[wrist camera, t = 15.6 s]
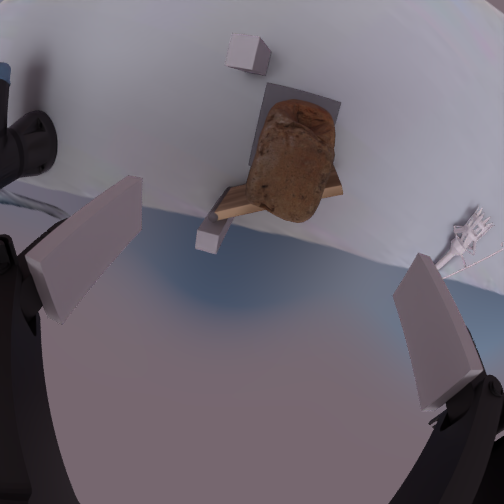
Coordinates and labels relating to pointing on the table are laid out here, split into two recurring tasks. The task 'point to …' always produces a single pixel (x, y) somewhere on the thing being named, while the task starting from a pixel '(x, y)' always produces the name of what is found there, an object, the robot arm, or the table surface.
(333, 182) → the door
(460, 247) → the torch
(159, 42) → the table surface
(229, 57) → the door frame
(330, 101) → the mat
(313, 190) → the brown oblong lump
